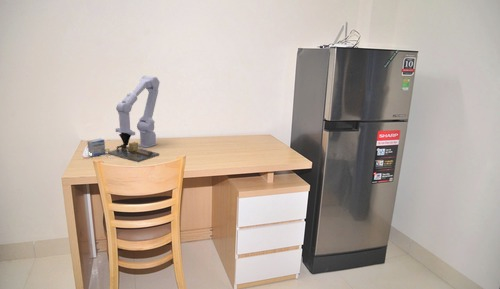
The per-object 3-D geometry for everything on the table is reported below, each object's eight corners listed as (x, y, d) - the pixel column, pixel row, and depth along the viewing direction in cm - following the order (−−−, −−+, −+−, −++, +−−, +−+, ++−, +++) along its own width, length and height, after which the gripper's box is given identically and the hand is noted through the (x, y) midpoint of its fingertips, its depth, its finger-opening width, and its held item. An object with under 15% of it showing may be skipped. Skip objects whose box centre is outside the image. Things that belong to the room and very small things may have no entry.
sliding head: (134, 150, 195) (134, 142, 193) (138, 150, 193) (137, 142, 192) (125, 152, 189) (124, 144, 187) (129, 153, 187) (128, 145, 186)
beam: (124, 148, 198) (124, 144, 197) (152, 155, 187) (152, 150, 186) (116, 150, 193) (115, 146, 192) (144, 158, 182) (144, 153, 181)
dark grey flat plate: (129, 147, 203) (129, 145, 203) (159, 155, 192) (159, 153, 191) (107, 153, 190) (107, 152, 189) (138, 162, 178) (138, 160, 178)
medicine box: (93, 157, 183) (91, 142, 181) (88, 155, 185) (87, 140, 183) (105, 153, 190) (104, 139, 187) (100, 152, 192) (99, 138, 189)
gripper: (110, 122, 191) (112, 144, 195) (127, 125, 184) (129, 148, 188) (120, 120, 197) (121, 142, 200) (137, 123, 190) (138, 146, 194)
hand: (126, 145), depth 195 cm, fingers closed
